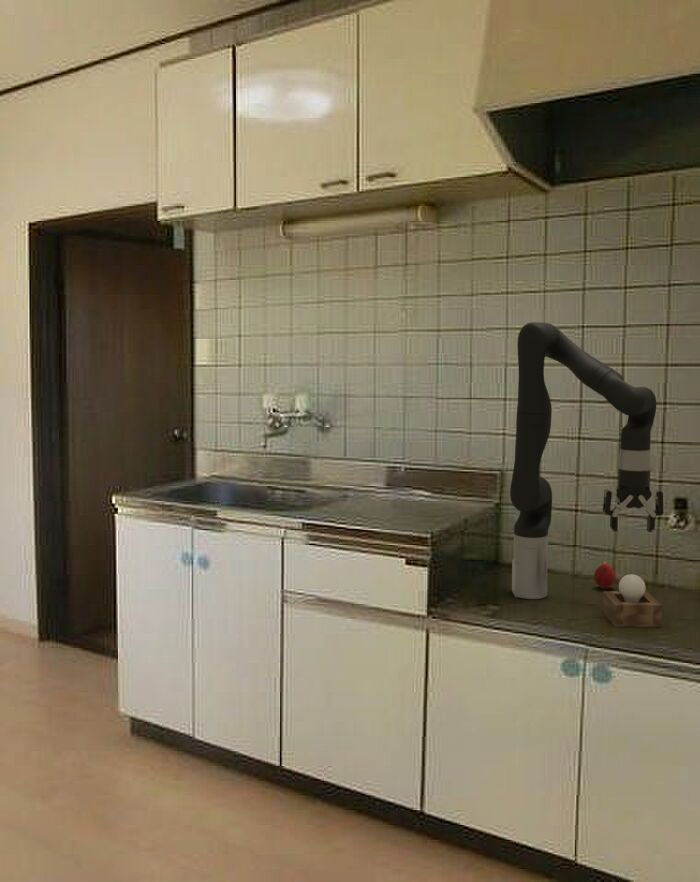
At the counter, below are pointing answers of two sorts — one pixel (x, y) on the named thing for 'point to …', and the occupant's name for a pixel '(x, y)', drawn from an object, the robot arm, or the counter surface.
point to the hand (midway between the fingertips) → (632, 531)
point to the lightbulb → (632, 588)
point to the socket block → (632, 610)
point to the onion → (604, 576)
